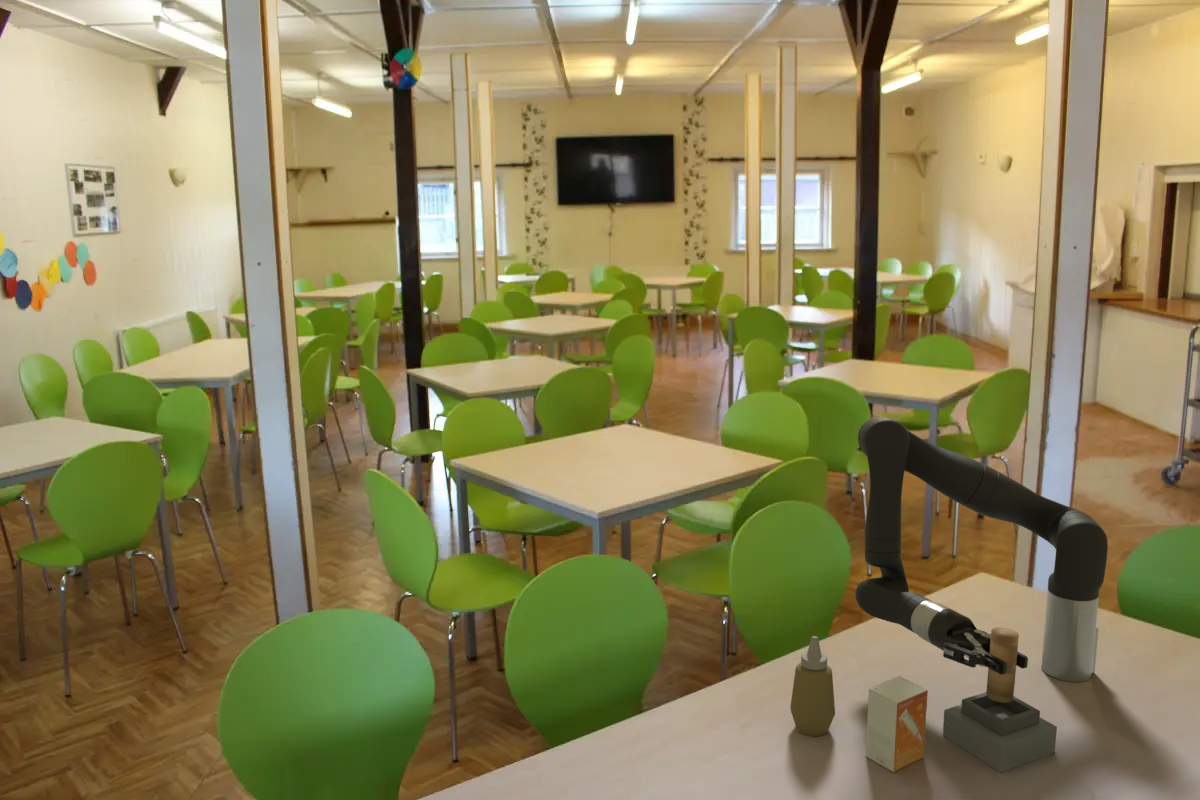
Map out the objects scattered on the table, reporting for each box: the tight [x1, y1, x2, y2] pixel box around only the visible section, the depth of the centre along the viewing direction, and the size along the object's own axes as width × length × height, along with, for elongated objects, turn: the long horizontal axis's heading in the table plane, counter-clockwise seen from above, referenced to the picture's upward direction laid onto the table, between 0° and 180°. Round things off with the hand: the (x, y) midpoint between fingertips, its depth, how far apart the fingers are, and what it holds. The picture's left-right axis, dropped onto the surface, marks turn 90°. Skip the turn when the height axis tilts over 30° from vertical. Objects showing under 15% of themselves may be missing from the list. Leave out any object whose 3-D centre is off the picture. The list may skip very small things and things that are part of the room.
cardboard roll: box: [985, 626, 1020, 703], centre depth 167 cm, size 4×4×12 cm
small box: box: [865, 675, 929, 773], centre depth 165 cm, size 8×6×13 cm
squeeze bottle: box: [790, 635, 836, 737], centre depth 174 cm, size 8×8×18 cm
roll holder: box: [942, 691, 1058, 773], centre depth 169 cm, size 13×13×8 cm
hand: (1015, 666), depth 164 cm, fingers closed on cardboard roll, 4 cm apart
